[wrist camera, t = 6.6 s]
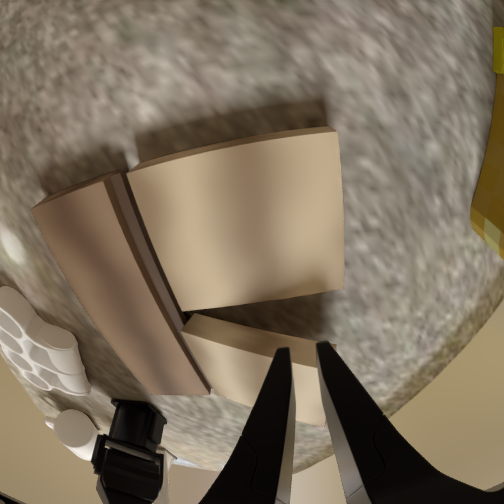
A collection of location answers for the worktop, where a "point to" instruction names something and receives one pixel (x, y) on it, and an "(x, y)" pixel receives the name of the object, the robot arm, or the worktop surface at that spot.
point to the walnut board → (121, 281)
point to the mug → (75, 432)
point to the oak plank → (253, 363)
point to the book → (493, 164)
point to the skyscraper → (165, 477)
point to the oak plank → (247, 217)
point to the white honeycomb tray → (40, 347)
